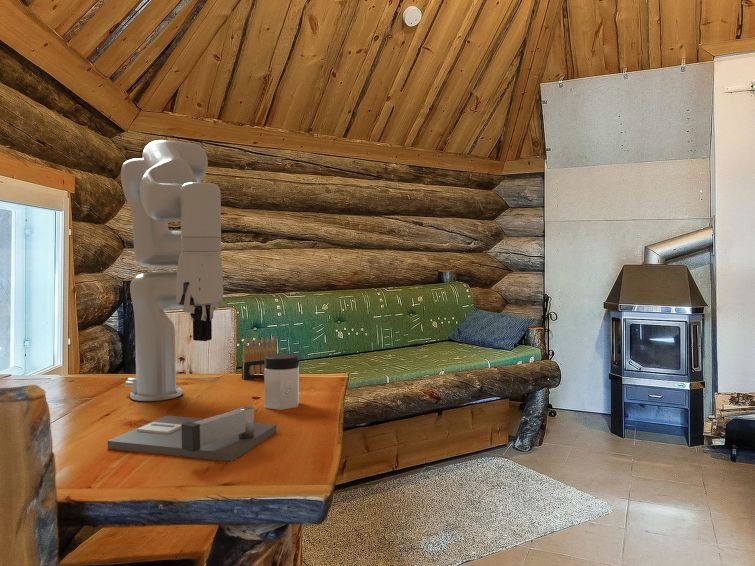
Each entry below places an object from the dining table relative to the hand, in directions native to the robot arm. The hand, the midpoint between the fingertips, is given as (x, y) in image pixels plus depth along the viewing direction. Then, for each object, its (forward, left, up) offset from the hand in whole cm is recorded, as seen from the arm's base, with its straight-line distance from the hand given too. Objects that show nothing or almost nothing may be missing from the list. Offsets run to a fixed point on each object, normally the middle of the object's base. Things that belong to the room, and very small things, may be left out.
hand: (202, 340), depth 118 cm
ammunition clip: (-16, +55, -20) cm, 61 cm away
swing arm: (+8, -8, -18) cm, 21 cm away
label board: (-1, -2, -20) cm, 20 cm away
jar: (+4, +27, -20) cm, 34 cm away
